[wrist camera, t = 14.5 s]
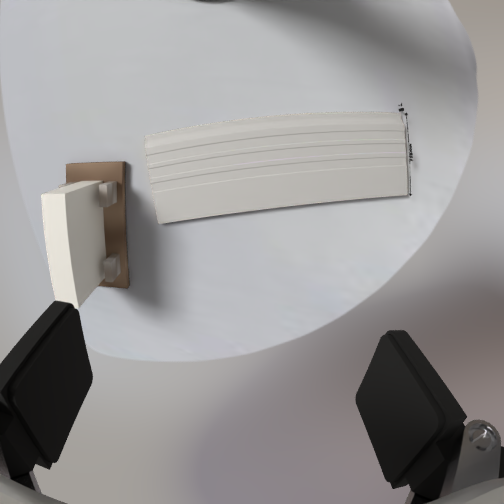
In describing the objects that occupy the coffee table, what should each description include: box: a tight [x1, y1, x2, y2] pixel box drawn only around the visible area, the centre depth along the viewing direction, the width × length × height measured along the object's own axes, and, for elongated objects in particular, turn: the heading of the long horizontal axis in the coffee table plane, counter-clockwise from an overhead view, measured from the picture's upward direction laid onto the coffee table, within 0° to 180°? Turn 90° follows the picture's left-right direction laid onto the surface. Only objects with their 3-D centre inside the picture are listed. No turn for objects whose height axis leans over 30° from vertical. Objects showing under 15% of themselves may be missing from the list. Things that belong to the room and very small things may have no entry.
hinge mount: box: [59, 162, 130, 288], centre depth 33 cm, size 16×8×4 cm, turn 176°
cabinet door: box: [41, 181, 106, 308], centre depth 30 cm, size 12×4×9 cm, turn 176°
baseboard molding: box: [145, 103, 413, 224], centre depth 33 cm, size 31×3×12 cm
